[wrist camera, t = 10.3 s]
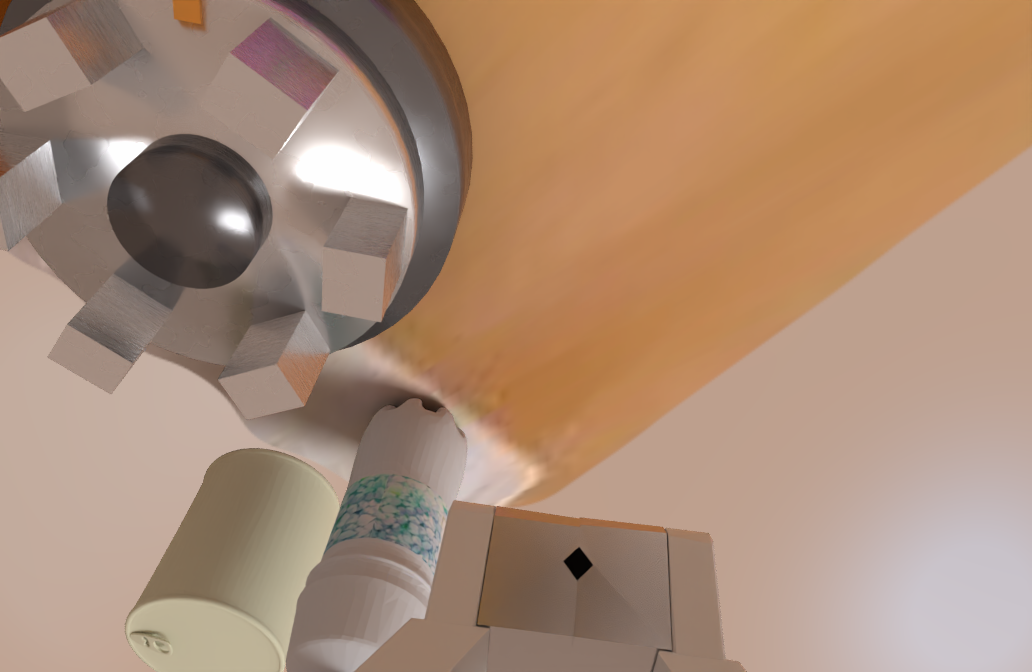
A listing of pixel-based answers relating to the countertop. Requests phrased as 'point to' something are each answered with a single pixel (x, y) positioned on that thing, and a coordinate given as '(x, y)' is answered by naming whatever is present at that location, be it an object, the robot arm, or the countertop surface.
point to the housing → (429, 110)
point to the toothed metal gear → (207, 185)
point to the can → (236, 567)
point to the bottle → (381, 540)
